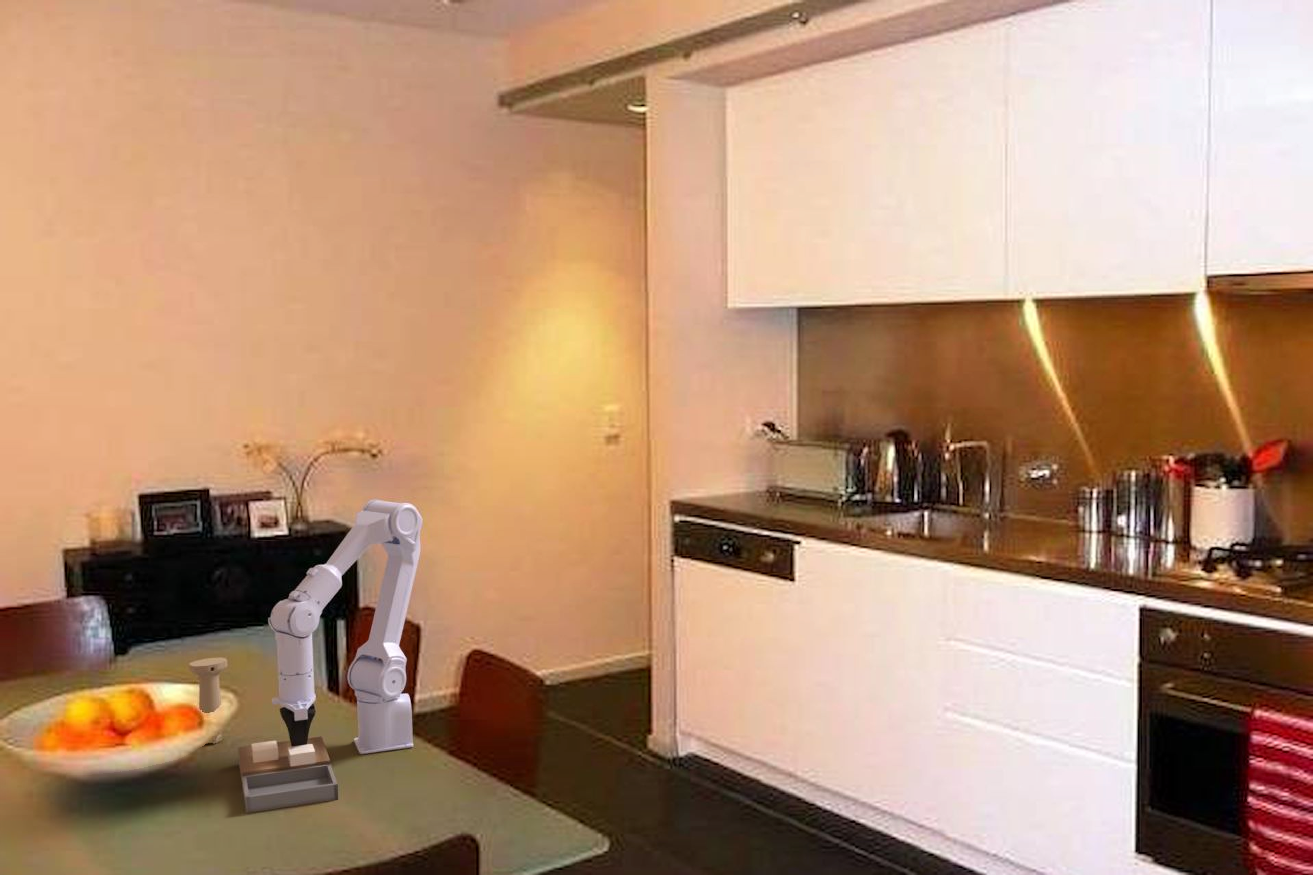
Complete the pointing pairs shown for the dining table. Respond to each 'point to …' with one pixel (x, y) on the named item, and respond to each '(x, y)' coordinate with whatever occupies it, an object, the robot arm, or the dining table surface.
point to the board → (279, 758)
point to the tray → (289, 788)
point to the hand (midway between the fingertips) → (299, 749)
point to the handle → (209, 684)
